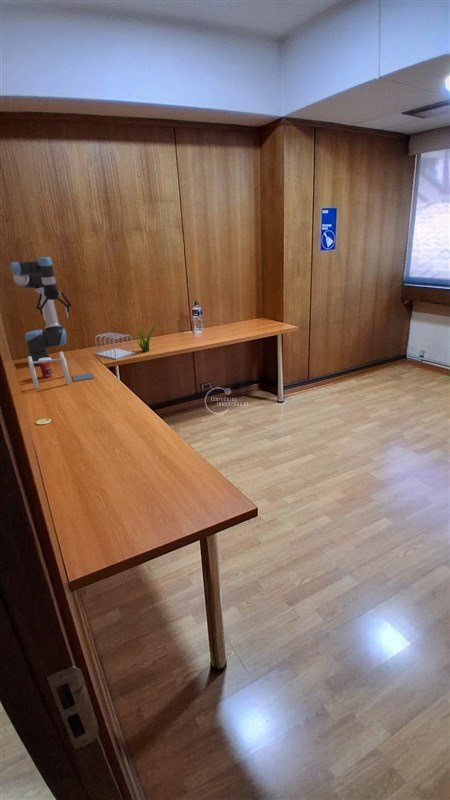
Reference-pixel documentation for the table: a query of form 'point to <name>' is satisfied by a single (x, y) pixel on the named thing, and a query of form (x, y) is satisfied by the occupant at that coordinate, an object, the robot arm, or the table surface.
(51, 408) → the table surface
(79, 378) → the mat
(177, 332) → the table surface
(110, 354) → the file sorter
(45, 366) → the coffee cup
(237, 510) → the table surface
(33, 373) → the white hurdle
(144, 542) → the table surface
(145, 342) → the decorative plant
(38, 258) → the robot arm
